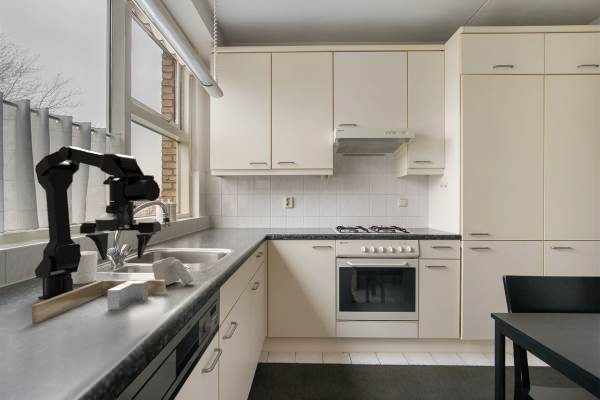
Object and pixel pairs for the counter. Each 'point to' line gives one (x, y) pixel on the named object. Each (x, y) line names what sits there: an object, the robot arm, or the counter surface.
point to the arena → (85, 297)
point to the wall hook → (171, 271)
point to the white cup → (86, 268)
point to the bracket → (127, 294)
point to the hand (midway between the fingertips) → (121, 259)
